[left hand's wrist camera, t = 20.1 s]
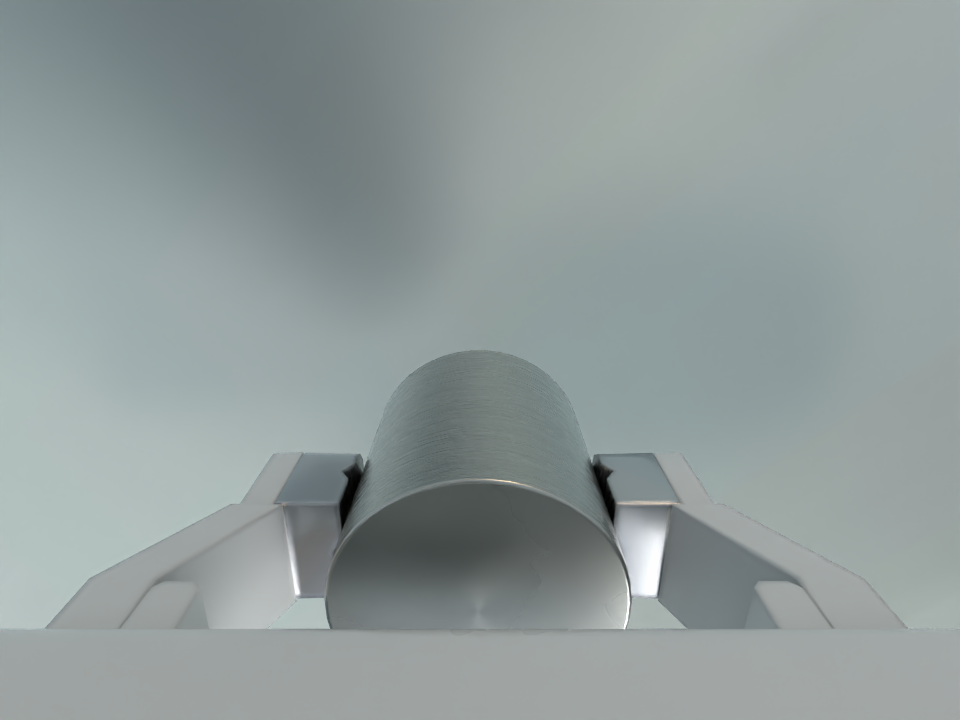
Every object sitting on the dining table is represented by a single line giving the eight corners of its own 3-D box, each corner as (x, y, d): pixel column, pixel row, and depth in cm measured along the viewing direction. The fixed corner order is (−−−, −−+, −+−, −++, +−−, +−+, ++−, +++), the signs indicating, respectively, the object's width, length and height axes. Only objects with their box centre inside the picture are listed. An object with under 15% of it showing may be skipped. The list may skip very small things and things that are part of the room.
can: (356, 371, 11) (281, 511, 7) (562, 331, 11) (613, 452, 7) (407, 537, 13) (370, 738, 9) (590, 506, 13) (647, 698, 8)
